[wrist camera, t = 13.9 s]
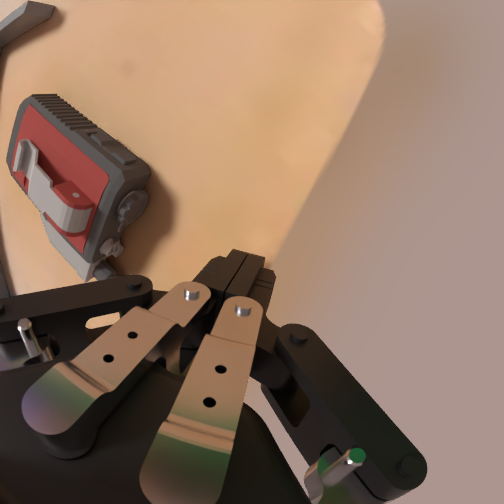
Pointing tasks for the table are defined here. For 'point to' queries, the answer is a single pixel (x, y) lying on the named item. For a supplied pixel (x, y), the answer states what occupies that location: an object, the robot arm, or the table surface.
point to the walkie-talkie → (76, 182)
